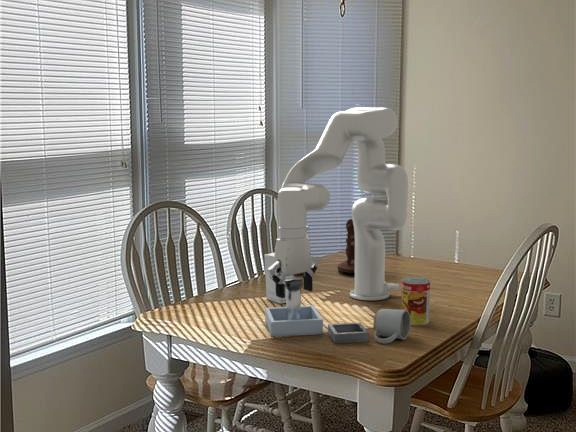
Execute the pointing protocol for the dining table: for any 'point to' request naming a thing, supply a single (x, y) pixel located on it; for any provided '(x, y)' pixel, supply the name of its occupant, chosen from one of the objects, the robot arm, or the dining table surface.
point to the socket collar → (348, 333)
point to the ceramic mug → (391, 325)
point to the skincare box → (269, 282)
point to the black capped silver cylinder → (293, 298)
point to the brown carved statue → (349, 250)
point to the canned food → (416, 299)
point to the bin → (293, 322)
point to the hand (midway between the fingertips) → (294, 293)
